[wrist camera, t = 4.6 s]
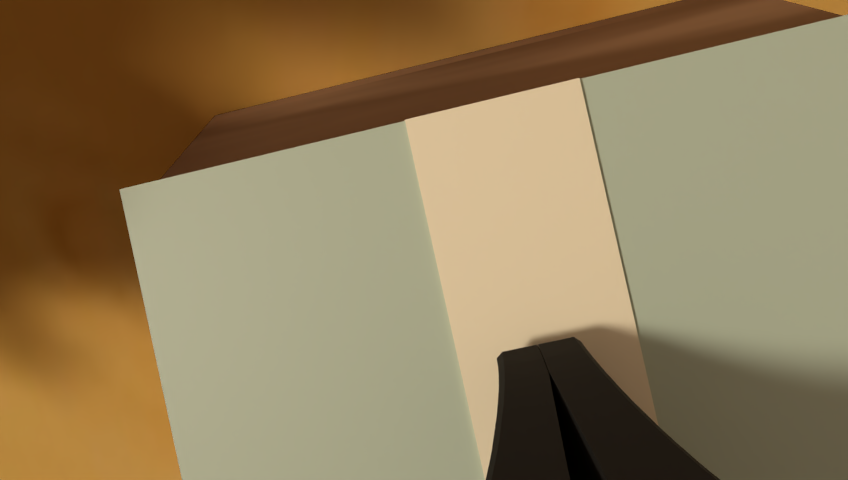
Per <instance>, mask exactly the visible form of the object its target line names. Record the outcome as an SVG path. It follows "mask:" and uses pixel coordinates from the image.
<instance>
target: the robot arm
mask: <svg viewBox="0 0 848 480" xmlns="http://www.w3.org/2000/svg"><path fill="white" fill-rule="evenodd" d="M497 363H498V373H499V392H498V406H497V417H496V424H495V431H494V438H493V445H492V452H491V457H490V462H489V467H488V471H487V476H486V480H720V479H719V478H718V477H716V476H715V475H714V474H713V473H711V472H710V471H709V470H708V469H707V468H705V467H704V466H703V465H702V464H701V463H699V462H698V461H697V460H696V459H695V458H694V457H692V456H691V455H690V454H689V453H688V452H687V451H686V450H684V449H683V448H682V447H681V446H680V445H679V444H678V443H676V442H675V441H674V440H673V439H672V438H671V437H670V436H669V435H668V434H667V433H665V432H664V431H663V430H662V429H661V428H660V427H659V426H658V425H657V424H656V423H655V422H654V421H653V420H652V419H651V418H650V417H649V416H648V415H647V414H646V413H645V412H644V411H643V410H642V409H641V408H639V407H638V406H637V405H636V404H635V403H634V402H633V401H632V400H631V399H630V398H629V397H628V396H627V394H626V393H625V392H624V391H623V390H622V389H621V388H620V387H619V386H618V385H617V384H616V383H615V382H614V381H613V379H612V378H611V377H610V376H609V375H608V374H607V373H606V372H605V371H604V369H603V368H602V367H601V366H600V365H599V364H598V362H597V361H596V360H595V359H594V358H593V356H592V355H591V354H590V353H589V351H588V350H587V349H586V347H585V346H584V345H583V343H582V342H581V341H580V340H578V339H576V338H575V337H571V338H566V339H561V340H556V341H552V342H547V343H542V344H538V345H532V346H528V347H523V348H518V349H513V350H508V351H504V352H502V353H501V354H500V355H499V356H498V357H497Z"/></svg>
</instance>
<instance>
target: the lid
mask: <svg viewBox="0 0 848 480" xmlns="http://www.w3.org/2000/svg"><path fill="white" fill-rule="evenodd" d="M119 190H120V194H121V199H122V204H123V208H124V213H125V218H126V222H127V227H128V231H129V236H130V241H131V245H132V250H133V255H134V259H135V264H136V268H137V273H138V278H139V282H140V287H141V292H142V296H143V301H144V305H145V310H146V315H147V319H148V324H149V329H150V333H151V338H152V342H153V347H154V352H155V356H156V361H157V366H158V370H159V375H160V380H161V384H162V389H163V393H164V398H165V403H166V407H167V412H168V417H169V421H170V426H171V430H172V435H173V440H174V444H175V449H176V454H177V458H178V463H179V467H180V472H181V477H182V480H486V476H487V471H488V467H489V462H490V457H491V452H492V445H493V438H494V431H495V424H496V417H497V406H498V392H499V373H498V363H497V357H498V356H499V355H500V354H501V353H502V352H504V351H508V350H513V349H518V348H523V347H528V346H532V345H538V344H542V343H547V342H552V341H556V340H561V339H566V338H571V337H575V338H576V339H578V340H580V341H581V342H582V343H583V345H584V346H585V347H586V349H587V350H588V351H589V353H590V354H591V355H592V356H593V358H594V359H595V360H596V361H597V362H598V364H599V365H600V366H601V367H602V368H603V369H604V371H605V372H606V373H607V374H608V375H609V376H610V377H611V378H612V379H613V381H614V382H615V383H616V384H617V385H618V386H619V387H620V388H621V389H622V390H623V391H624V392H625V393H626V394H627V396H628V397H629V398H630V399H631V400H632V401H633V402H634V403H635V404H636V405H637V406H638V407H639V408H641V409H642V410H643V411H644V412H645V413H646V414H647V415H648V416H649V417H650V418H651V419H652V420H653V421H654V422H655V423H656V424H657V425H658V426H659V427H660V428H661V429H662V430H663V431H664V432H665V433H667V434H668V435H669V436H670V437H671V438H672V439H673V440H674V441H675V442H676V443H678V444H679V445H680V446H681V447H682V448H683V449H684V450H686V451H687V452H688V453H689V454H690V455H691V456H692V457H694V458H695V459H696V460H697V461H698V462H699V463H701V464H702V465H703V466H704V467H705V468H707V469H708V470H709V471H710V472H711V473H713V474H714V475H715V476H716V477H718V478H719V479H720V480H848V15H844V16H840V17H836V18H832V19H827V20H823V21H819V22H815V23H811V24H807V25H802V26H798V27H794V28H790V29H786V30H782V31H777V32H773V33H769V34H765V35H761V36H757V37H752V38H748V39H744V40H740V41H736V42H732V43H727V44H723V45H719V46H715V47H711V48H707V49H702V50H698V51H694V52H690V53H686V54H682V55H677V56H673V57H669V58H665V59H661V60H656V61H652V62H648V63H644V64H640V65H636V66H631V67H627V68H623V69H619V70H615V71H611V72H606V73H602V74H598V75H594V76H590V77H586V78H581V79H580V78H577V79H572V80H568V81H564V82H560V83H556V84H552V85H547V86H543V87H539V88H535V89H531V90H527V91H522V92H518V93H514V94H510V95H506V96H502V97H497V98H493V99H489V100H485V101H481V102H477V103H472V104H468V105H464V106H460V107H456V108H452V109H447V110H443V111H439V112H435V113H431V114H427V115H422V116H418V117H414V118H410V119H406V120H405V121H402V122H398V123H394V124H390V125H386V126H381V127H377V128H373V129H369V130H365V131H361V132H356V133H352V134H348V135H344V136H340V137H336V138H331V139H327V140H323V141H319V142H315V143H311V144H306V145H302V146H298V147H294V148H290V149H286V150H281V151H277V152H273V153H269V154H265V155H261V156H256V157H252V158H248V159H244V160H240V161H236V162H231V163H227V164H223V165H219V166H215V167H211V168H206V169H202V170H198V171H194V172H190V173H186V174H181V175H177V176H173V177H169V178H165V179H161V180H156V181H152V182H148V183H144V184H140V185H136V186H131V187H127V188H123V189H119Z"/></svg>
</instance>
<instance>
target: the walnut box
mask: <svg viewBox="0 0 848 480" xmlns="http://www.w3.org/2000/svg"><path fill="white" fill-rule="evenodd" d="M840 16H842V15H838V14H834V13H830V12H826V11H823V10H819V9H815V8H811V7H807V6H803V5H799V4H796V3H792V2H788V1H784V0H682V1H678V2H674V3H669V4H665V5H661V6H657V7H653V8H649V9H645V10H641V11H637V12H633V13H629V14H625V15H621V16H617V17H613V18H609V19H605V20H601V21H596V22H592V23H588V24H584V25H580V26H576V27H572V28H568V29H564V30H560V31H556V32H552V33H548V34H544V35H540V36H536V37H532V38H528V39H524V40H519V41H515V42H511V43H507V44H503V45H499V46H495V47H491V48H487V49H483V50H479V51H475V52H471V53H467V54H463V55H459V56H455V57H451V58H446V59H442V60H438V61H434V62H430V63H426V64H422V65H418V66H414V67H410V68H406V69H402V70H398V71H394V72H390V73H386V74H382V75H378V76H374V77H369V78H365V79H361V80H357V81H353V82H349V83H345V84H341V85H337V86H333V87H329V88H325V89H321V90H317V91H313V92H309V93H305V94H301V95H296V96H292V97H288V98H284V99H280V100H276V101H272V102H268V103H264V104H260V105H256V106H252V107H248V108H244V109H240V110H236V111H232V112H228V113H224V114H219V115H215V116H214V117H213V118H212V120H211V121H210V122H209V123H208V124H207V125H206V127H205V128H204V129H203V130H202V131H201V132H200V134H199V135H198V136H197V137H196V138H195V139H194V141H193V142H192V143H191V144H190V145H189V146H188V147H187V149H186V150H185V151H184V152H183V153H182V154H181V156H180V157H179V158H178V159H177V160H176V161H175V163H174V164H173V165H172V166H171V167H170V168H169V170H168V171H167V172H166V173H165V174H164V175H163V177H162V178H161V179H165V178H169V177H173V176H177V175H181V174H186V173H190V172H194V171H198V170H202V169H206V168H211V167H215V166H219V165H223V164H227V163H231V162H236V161H240V160H244V159H248V158H252V157H256V156H261V155H265V154H269V153H273V152H277V151H281V150H286V149H290V148H294V147H298V146H302V145H306V144H311V143H315V142H319V141H323V140H327V139H331V138H336V137H340V136H344V135H348V134H352V133H356V132H361V131H365V130H369V129H373V128H377V127H381V126H386V125H390V124H394V123H398V122H402V121H405V120H406V119H410V118H414V117H418V116H422V115H427V114H431V113H435V112H439V111H443V110H447V109H452V108H456V107H460V106H464V105H468V104H472V103H477V102H481V101H485V100H489V99H493V98H497V97H502V96H506V95H510V94H514V93H518V92H522V91H527V90H531V89H535V88H539V87H543V86H547V85H552V84H556V83H560V82H564V81H568V80H572V79H577V78H580V79H581V78H586V77H590V76H594V75H598V74H602V73H606V72H611V71H615V70H619V69H623V68H627V67H631V66H636V65H640V64H644V63H648V62H652V61H656V60H661V59H665V58H669V57H673V56H677V55H682V54H686V53H690V52H694V51H698V50H702V49H707V48H711V47H715V46H719V45H723V44H727V43H732V42H736V41H740V40H744V39H748V38H752V37H757V36H761V35H765V34H769V33H773V32H777V31H782V30H786V29H790V28H794V27H798V26H802V25H807V24H811V23H815V22H819V21H823V20H827V19H832V18H836V17H840ZM161 179H160V180H161Z"/></svg>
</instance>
